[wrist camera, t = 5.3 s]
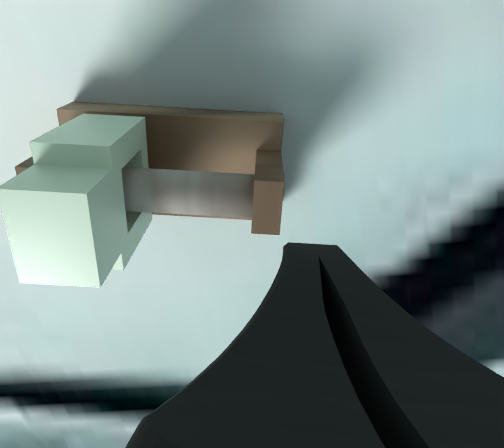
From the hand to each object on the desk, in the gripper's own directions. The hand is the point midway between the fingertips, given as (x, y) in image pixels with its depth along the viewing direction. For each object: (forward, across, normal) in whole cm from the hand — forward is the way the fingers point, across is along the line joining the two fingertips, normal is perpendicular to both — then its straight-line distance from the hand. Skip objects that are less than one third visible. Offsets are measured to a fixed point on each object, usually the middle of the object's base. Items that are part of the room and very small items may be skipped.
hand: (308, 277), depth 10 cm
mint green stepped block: (+7, +7, 0) cm, 10 cm away
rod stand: (+9, +5, 0) cm, 10 cm away
